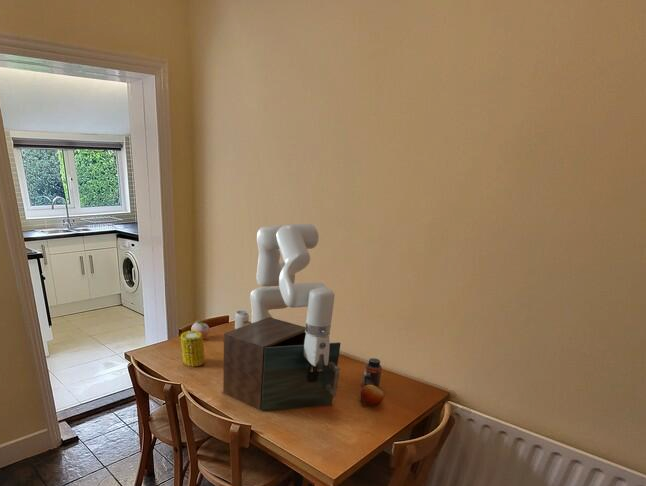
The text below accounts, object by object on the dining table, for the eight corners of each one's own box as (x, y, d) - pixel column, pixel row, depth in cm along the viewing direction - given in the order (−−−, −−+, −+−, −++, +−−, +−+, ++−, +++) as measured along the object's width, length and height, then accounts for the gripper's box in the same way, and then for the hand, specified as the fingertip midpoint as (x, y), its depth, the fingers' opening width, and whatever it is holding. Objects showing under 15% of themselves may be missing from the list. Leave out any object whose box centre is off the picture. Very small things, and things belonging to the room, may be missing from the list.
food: (208, 365, 181) (190, 373, 176) (191, 352, 188) (174, 359, 182) (212, 337, 172) (193, 344, 166) (194, 324, 179) (176, 330, 173)
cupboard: (302, 385, 160) (308, 327, 150) (260, 410, 144) (263, 346, 134) (266, 371, 172) (269, 317, 162) (223, 392, 156) (223, 333, 145)
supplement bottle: (378, 384, 161) (383, 358, 156) (378, 391, 156) (383, 364, 151) (362, 382, 163) (366, 356, 158) (362, 389, 158) (366, 362, 153)
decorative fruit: (187, 339, 207) (187, 320, 202) (199, 335, 212) (198, 316, 208) (201, 344, 201) (200, 324, 197) (212, 339, 206) (212, 320, 202)
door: (339, 412, 142) (348, 349, 132) (266, 419, 138) (270, 355, 128) (331, 403, 148) (339, 342, 137) (261, 409, 144) (264, 347, 134)
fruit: (350, 394, 150) (364, 377, 148) (366, 403, 153) (380, 387, 150) (360, 406, 143) (374, 388, 140) (376, 415, 145) (391, 397, 143)
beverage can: (244, 337, 208) (244, 315, 203) (232, 335, 211) (232, 313, 206) (250, 333, 213) (251, 311, 208) (238, 331, 217) (239, 309, 212)
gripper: (339, 336, 122) (332, 390, 130) (319, 320, 135) (313, 370, 143) (315, 337, 121) (309, 392, 129) (297, 321, 134) (293, 372, 142)
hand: (311, 380), depth 136 cm, fingers closed
